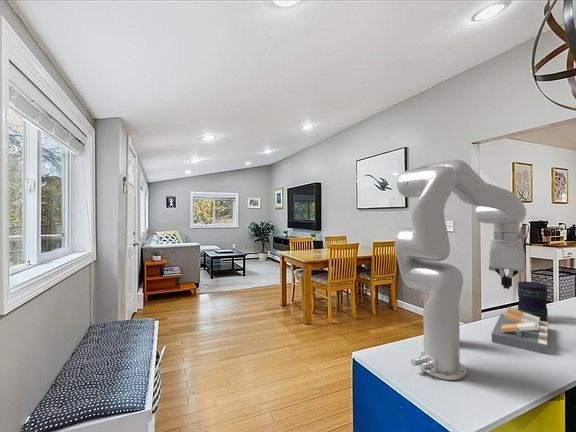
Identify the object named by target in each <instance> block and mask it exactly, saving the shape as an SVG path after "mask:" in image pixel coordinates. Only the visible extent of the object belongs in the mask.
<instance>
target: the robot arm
mask: <svg viewBox="0 0 576 432" xmlns="http://www.w3.org/2000/svg"><path fill="white" fill-rule="evenodd" d="M396 187H397V190H398V192H399V194H400V195H402V196H404V198H405V197H406V198H417V200H416V201H415V203H414V205H413V207H412V210H411V222H412V227H405V228H401V229H400V230H399V231H398V232H397V233H396V236H395V239H394V251H395V252H394V253H395V256H396V260H397V264H398V267H399V268H398V269H399V272H400V276H401V279H402V281H403V283H404V285H406V286H407V287H408V288H411V289H413V290H416V291H420V292H425V293H427V294H430V295H429V297H428V298H427V300H426V301H425V303H424V305H423V310H422V314H423V317H422V318H423V351H421V353H420V356H419V357H418V358H417V357H416V358H413V359H411V360H410V365H412V367H419V369H420V370H421V371H423V372H424V373H425V374H426V375H428V376H431V377H434V378H437V379H440V380H441V379H442V380H447V381H455V380H457V381H458V380H462V379H463V378H465V377H466V375H467V369H466V367H465V366H464V365H463V364H462V362H461V359H460V357H461V355H460V351H461V350H460V346H461V345H460V342H461V341H460V303H461V301H460V300H461V294H462V288H463V283H464V277H463V273H462V272H461V270H460V269H458V268H457V267H456V266H454V265H452V264H449V263H444V262H441V261H445V260H447V258H449V256H450V253H451V245H450V239H449V238H450V237H449V235H448V234H449V233H448V229H447V225H446V220H445V207H446V204H447V202H448V199H449V197H450V196H451V193H453V194H455V195H456V196H457V198H458V199H460V200H461V201H462V202H463V203H465V204H468V205H470V206H476V207H475V208H474V211H473V213H474V217H475V219H476V220H477V221H478V222H480V223H483V224H490V225H491V224H493V239H491V242H490V246H489V247H490V248H489V259H488V264H489V265H488V271H492V272H495V273H497V274H498V275H499V276H500V279H501V280H500V281H501V282H500V283H501V286H502V287H503V289H504V290H505V289H507V290H510V289H511V288H510V287H513V277H516V275H519V274H526V272H527V271H526V268H525V265H526V259H525V258H526V255H525V247H524V243H523V241H522V240H521V239H525V237H526V235H525V233H523V234H522V233H521V232H520V231H521V230H520V229H521V228H520V226H521V224H520V223H523V221H524V220H525V218H526V216H527V209H526V207H525V205H524V203H523V201H521V199H520V198H519V196H517V194H515V193H514V192H512V191H510V190H508V189H506V188H502V187H500V186H497V185H495V184H492V183H487V182H485V181H484V180H483V179H482V177H481V176H480V175H479V174H477V172H476V171H475V170H474V169H473V168H472V167H471V166H470V165H469V164H468V163H467V162H465V161H464V160H462V159H461V160H460V159H451V160H444V161H439V162H438V161H437V162H433V163H428V164H425V165H422V166H418V167H415V168H411V169H408V170H405V171H403V172H402V173H401V174H400V175H399V176H398V178H397V181H396ZM505 270H508V274H507V275H506V272H505Z"/></svg>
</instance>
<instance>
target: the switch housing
mask: <svg viewBox="0 0 576 432" xmlns="http://www.w3.org/2000/svg"><path fill="white" fill-rule="evenodd" d="M504 317H505V314H504V313H501V314H500V316H499V317H498V319H497V321H496V323H495V326H494V328H493V330H492V332H491V343H495V344H499V345H504V346H508V347H511V348H512V347H513V348H517V349H520V350H525V351H528V352H529V351H530V352H534V353H539V354H543V355H548V352H549V351H548V348H549V347H548V346H549V343H548V342H549V322H548V321H547V322H544V321H539V329H538V330H524V331H522V332H521V331H509V332H502V331H501V327H502V325H506V324H518V323H516V322H514V321H511V320H508V319H505V318H504Z"/></svg>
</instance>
